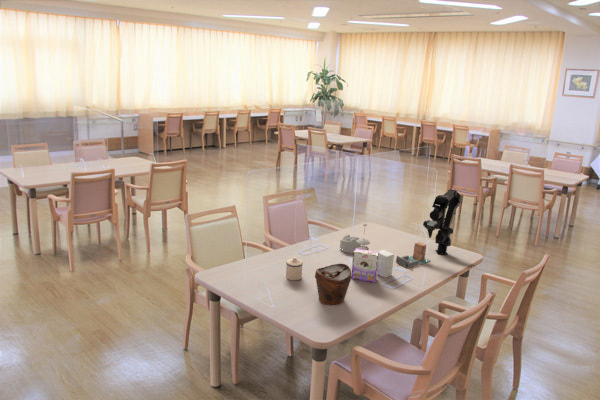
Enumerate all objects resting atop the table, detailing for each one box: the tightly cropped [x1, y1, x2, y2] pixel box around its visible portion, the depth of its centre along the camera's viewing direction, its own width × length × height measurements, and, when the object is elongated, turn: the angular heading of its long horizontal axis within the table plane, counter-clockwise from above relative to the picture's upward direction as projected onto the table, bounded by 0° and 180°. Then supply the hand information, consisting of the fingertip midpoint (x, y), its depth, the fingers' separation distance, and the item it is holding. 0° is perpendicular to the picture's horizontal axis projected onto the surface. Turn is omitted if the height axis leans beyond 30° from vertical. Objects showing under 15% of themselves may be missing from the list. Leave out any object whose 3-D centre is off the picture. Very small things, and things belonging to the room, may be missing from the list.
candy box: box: [351, 248, 380, 284], centre depth 274 cm, size 14×6×16 cm, turn 71°
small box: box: [377, 249, 395, 278], centre depth 281 cm, size 8×6×13 cm
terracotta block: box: [412, 241, 427, 261], centre depth 304 cm, size 5×5×10 cm
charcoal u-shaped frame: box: [395, 254, 419, 268], centre depth 299 cm, size 10×9×4 cm
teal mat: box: [408, 255, 431, 266], centre depth 306 cm, size 10×11×1 cm
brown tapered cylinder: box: [314, 263, 352, 307], centre depth 248 cm, size 18×20×18 cm
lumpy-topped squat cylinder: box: [339, 234, 362, 253], centre depth 315 cm, size 10×13×9 cm
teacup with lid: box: [285, 256, 303, 281], centre depth 273 cm, size 12×9×12 cm
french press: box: [357, 223, 371, 251], centre depth 294 cm, size 10×12×25 cm
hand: (436, 240), depth 303 cm, fingers open, 9 cm apart
